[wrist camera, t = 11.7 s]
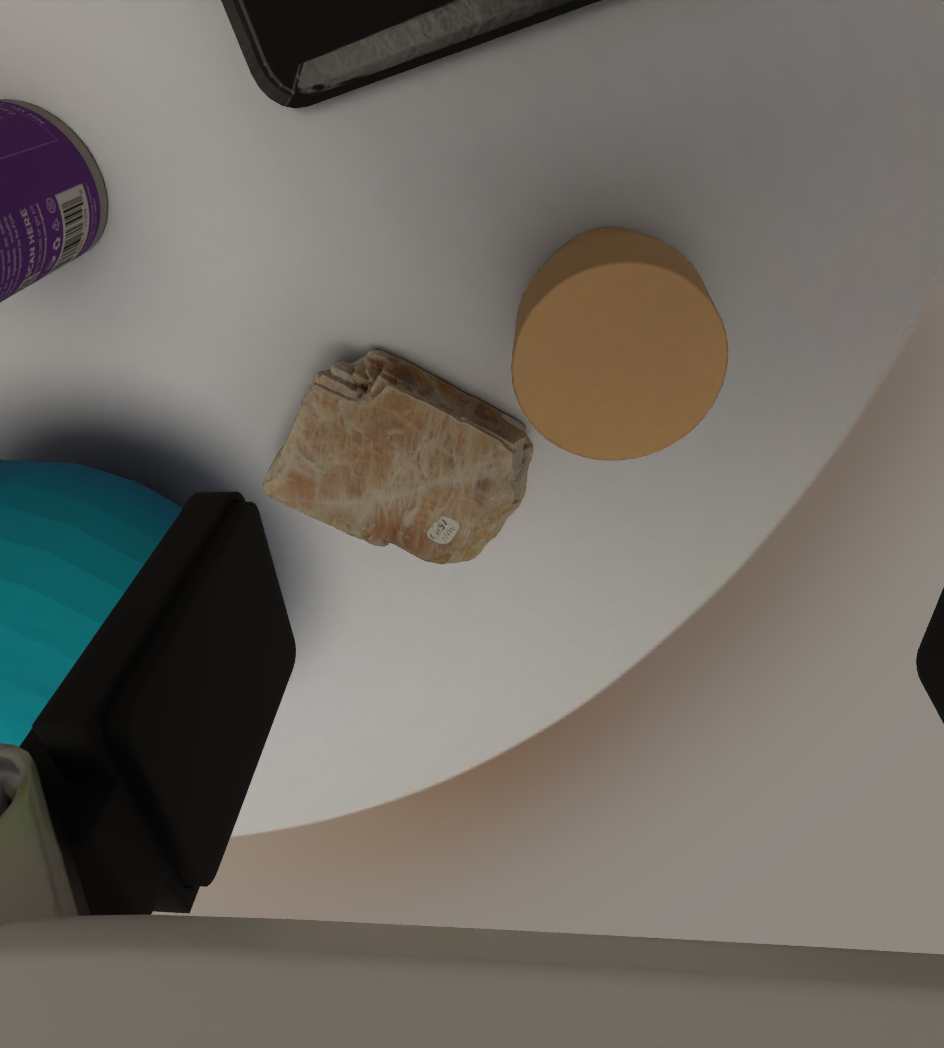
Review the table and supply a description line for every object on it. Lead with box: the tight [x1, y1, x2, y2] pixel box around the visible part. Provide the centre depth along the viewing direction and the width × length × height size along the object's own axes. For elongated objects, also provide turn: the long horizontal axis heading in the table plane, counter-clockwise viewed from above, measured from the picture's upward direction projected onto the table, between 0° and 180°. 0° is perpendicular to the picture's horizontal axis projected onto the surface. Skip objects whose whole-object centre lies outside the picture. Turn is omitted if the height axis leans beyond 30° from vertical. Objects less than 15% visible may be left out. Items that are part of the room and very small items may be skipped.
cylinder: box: [511, 228, 728, 460], centre depth 22 cm, size 6×6×6 cm
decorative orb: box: [0, 460, 183, 747], centre depth 26 cm, size 15×15×15 cm
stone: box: [262, 350, 533, 564], centre depth 27 cm, size 9×6×3 cm
